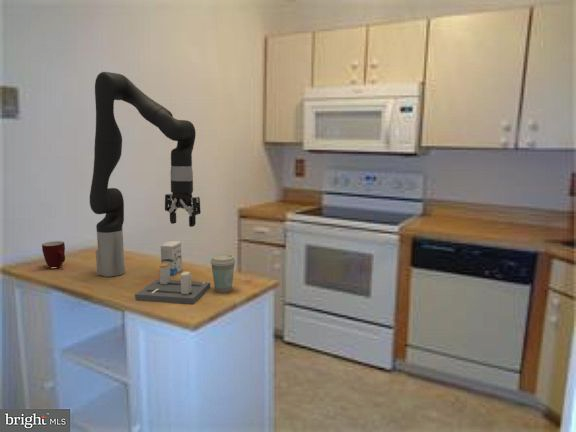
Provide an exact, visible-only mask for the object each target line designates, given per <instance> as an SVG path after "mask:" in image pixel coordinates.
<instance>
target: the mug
mask: <svg viewBox="0 0 576 432" xmlns="http://www.w3.org/2000/svg"><path fill="white" fill-rule="evenodd" d="M41 250H42V254H43V258H44V262H45V263H46V265H47V266H48V268H49V267H60V266H61V267H62V265H63V264H64V262H65V261H66V255H65V253H66V246H65V242H64V241H61V240H60V241H58V240H57V241H48V242H44V243H42V244H41ZM61 267H60V268H61Z"/></svg>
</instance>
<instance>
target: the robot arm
mask: <svg viewBox="0 0 576 432" xmlns="http://www.w3.org/2000/svg"><path fill="white" fill-rule="evenodd" d="M94 82H95V83H94V98H95V99H94V100H95V135H94V136H95V137H94V149H93V150H94V151H93V152H94V153H93V154H94V156H93V157H94V158H93V170H92V171H93V172H92V179H91V186H90V192H89V206H90V209H91V211H92V212H93V213H94V214H95V215H105V216H104V217H103V218H102V219H101V220H100V221H99V222H98V223H96V225H95V226H96V228H95V229H96V238H97V239H96V240H97V249H96V251H95V260H96V275H97V276H101V277H105V278H106V277H109V278H111V277H117V276H122V275H123V274H125V273H126V266H125V249H124V246H125V245H124V233H123V225H124V222H125V202H124V201H125V200H124V195H123V193H122V191H121V190H120V189H118V188H116V187H109V181H110V178H111V175H112V174H113V172H114V170H115V169H116V166H117V165H118V163H119V162H120V160H121V156H122V149H123V136H122V133H121V130H120V128H119V125H118V123H117V121H116V118H115V117H116V116H115V113H114V112H115V111H114V109H115V108H114V106H115V101H122V102H125V103H128V104H129V105H131V106H133V107H134V108H135V109H136V110H137V111H138V113H139V114H140V115H141V117H142V118H143V119H145V120H146V121H147V122H149V123H150V124H152V125H153V126H155V127H157V128H158V129H159V131H160V132H161V133H162V134H163V135H164V136H165V137H166V138H167V139H170V140H171V141H175V142H177V144H176V146H175V148H172V149H171V152H170V174H169V175H170V192H171V193H167V194H165V195H164V211H165V212H168V213H169V222H170V225H171V224H172V225H174V224H176V223H177V210H178V209H183V210H185V211H186V212H187V213H188V226H189V227H190V228H191V227H192V228H193V227H195V225H196V217H197V216H198V215H200V214H201V199H200V197H199V196H195V197H193V192H194V176H193V175H194V172H193V171H194V170H193V154H192V153H193V149H194V146H195V142H196V141H195V140H196V133H197V132H196V128H195V125H194V124H193V123H192V122H191V121H189V120H187V119H186V120H185V119H177V118H175V117H174V115H173V113H172V112H171V111H170V110H168V108H166V107H165V106H163V105H162V104H160V103H158V102H157V101H155V100H153V99H152V98H151V97H150V96H148V95H147V94H145V93H144V92H143V91H142V90H141V89H139V88H138V86H136V84H134V83H133V82H132V81H131V80H130V79H129V78H128V77H126V76H125V75H123V74H120V73H117V72H110V71H101V72H100V73H99V74H98V75H97V76H96V78H95V81H94Z"/></svg>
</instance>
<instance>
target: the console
mask: <svg viewBox="0 0 576 432" xmlns="http://www.w3.org/2000/svg"><path fill="white" fill-rule="evenodd" d="M210 289H211V282H210V281H209V282H208V281H194V280H191V292H190V293H189V294H181V280H173V279H170V282H169V283H168V284H160V278H157V279H155V280H154V281H152V282H151V283H149V284H148V285H146V286H145V287H144V288H142V289H141V290H139V291H138V292H136V293H135V294H134V297H135V301H144V302H154V303H155V302H157V303H167V304H168V303H169V304H170V303H173V304H186V305H195V303H196V302H198V301H199V300H200V298H202V297H203V296H204V295H205V294H206V293H207V292H208V291H209V290H210Z"/></svg>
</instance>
